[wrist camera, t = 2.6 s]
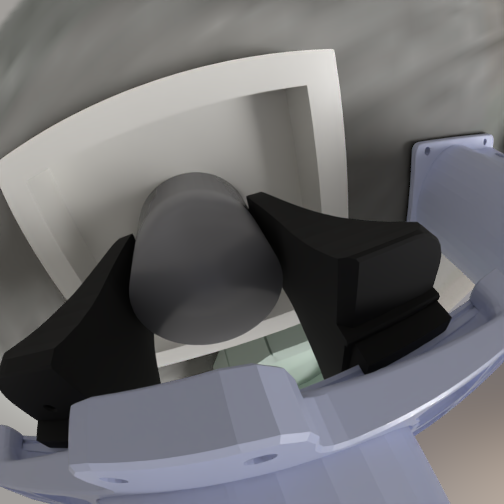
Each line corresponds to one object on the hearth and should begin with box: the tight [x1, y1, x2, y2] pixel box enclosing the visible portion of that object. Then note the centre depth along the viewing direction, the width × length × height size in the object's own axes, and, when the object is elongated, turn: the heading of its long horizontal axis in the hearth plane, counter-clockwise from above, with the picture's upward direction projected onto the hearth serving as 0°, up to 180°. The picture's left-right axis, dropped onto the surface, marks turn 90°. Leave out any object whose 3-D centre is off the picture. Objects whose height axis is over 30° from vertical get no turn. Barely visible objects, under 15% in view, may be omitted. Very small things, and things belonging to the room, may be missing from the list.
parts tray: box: [0, 49, 348, 367], centre depth 11 cm, size 12×12×3 cm
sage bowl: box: [213, 323, 324, 390], centre depth 19 cm, size 11×11×3 cm
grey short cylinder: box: [129, 172, 283, 345], centre depth 10 cm, size 5×5×4 cm
